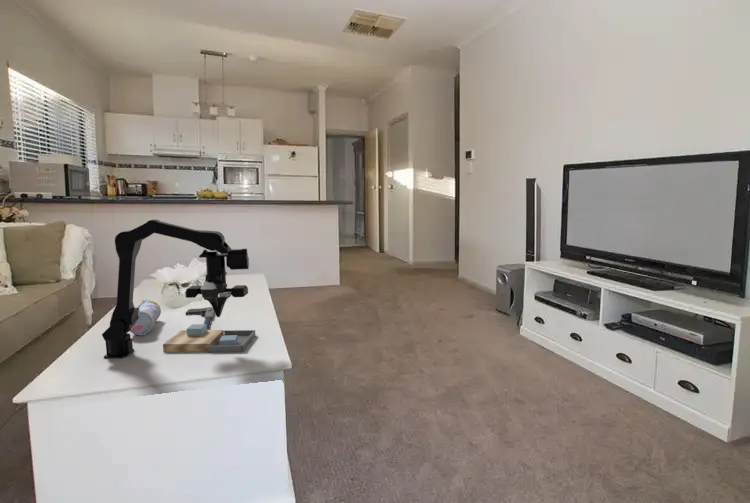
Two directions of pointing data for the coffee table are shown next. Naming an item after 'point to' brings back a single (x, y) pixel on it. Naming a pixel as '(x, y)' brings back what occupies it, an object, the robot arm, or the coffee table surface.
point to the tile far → (196, 329)
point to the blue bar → (203, 314)
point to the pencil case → (146, 317)
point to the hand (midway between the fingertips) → (218, 316)
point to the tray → (243, 341)
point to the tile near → (228, 340)
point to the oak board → (192, 341)
